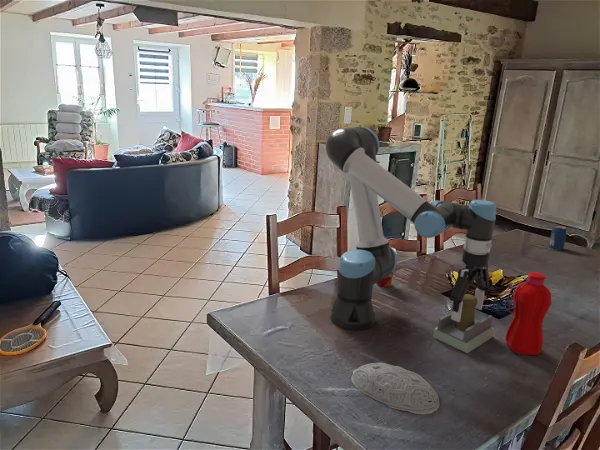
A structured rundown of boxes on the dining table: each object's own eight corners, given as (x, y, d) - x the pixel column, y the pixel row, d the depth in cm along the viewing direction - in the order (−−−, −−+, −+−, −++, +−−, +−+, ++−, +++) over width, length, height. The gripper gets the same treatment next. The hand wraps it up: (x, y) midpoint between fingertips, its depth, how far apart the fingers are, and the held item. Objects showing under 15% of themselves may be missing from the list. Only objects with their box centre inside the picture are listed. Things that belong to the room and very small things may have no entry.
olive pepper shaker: (475, 325, 147) (480, 294, 144) (473, 333, 142) (478, 301, 138) (455, 321, 149) (460, 290, 146) (453, 329, 144) (458, 297, 141)
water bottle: (496, 339, 145) (509, 267, 138) (530, 341, 145) (545, 268, 138) (507, 355, 137) (522, 279, 130) (544, 357, 136) (560, 280, 129)
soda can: (564, 248, 240) (569, 227, 237) (561, 251, 235) (565, 229, 232) (550, 245, 245) (554, 224, 241) (546, 248, 240) (551, 226, 236)
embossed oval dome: (433, 422, 106) (436, 396, 105) (337, 391, 119) (339, 367, 118) (448, 394, 120) (450, 370, 119) (360, 368, 132) (362, 346, 131)
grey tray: (467, 353, 137) (470, 332, 135) (433, 337, 146) (435, 317, 144) (492, 336, 147) (496, 317, 145) (459, 322, 156) (462, 304, 154)
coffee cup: (395, 288, 181) (399, 253, 177) (374, 287, 181) (378, 252, 177) (391, 280, 189) (395, 246, 185) (372, 279, 190) (375, 245, 185)
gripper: (466, 263, 127) (456, 330, 133) (507, 246, 143) (496, 307, 149) (443, 255, 133) (434, 320, 139) (484, 240, 149) (475, 299, 155)
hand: (466, 314), depth 144 cm, fingers open, 13 cm apart
